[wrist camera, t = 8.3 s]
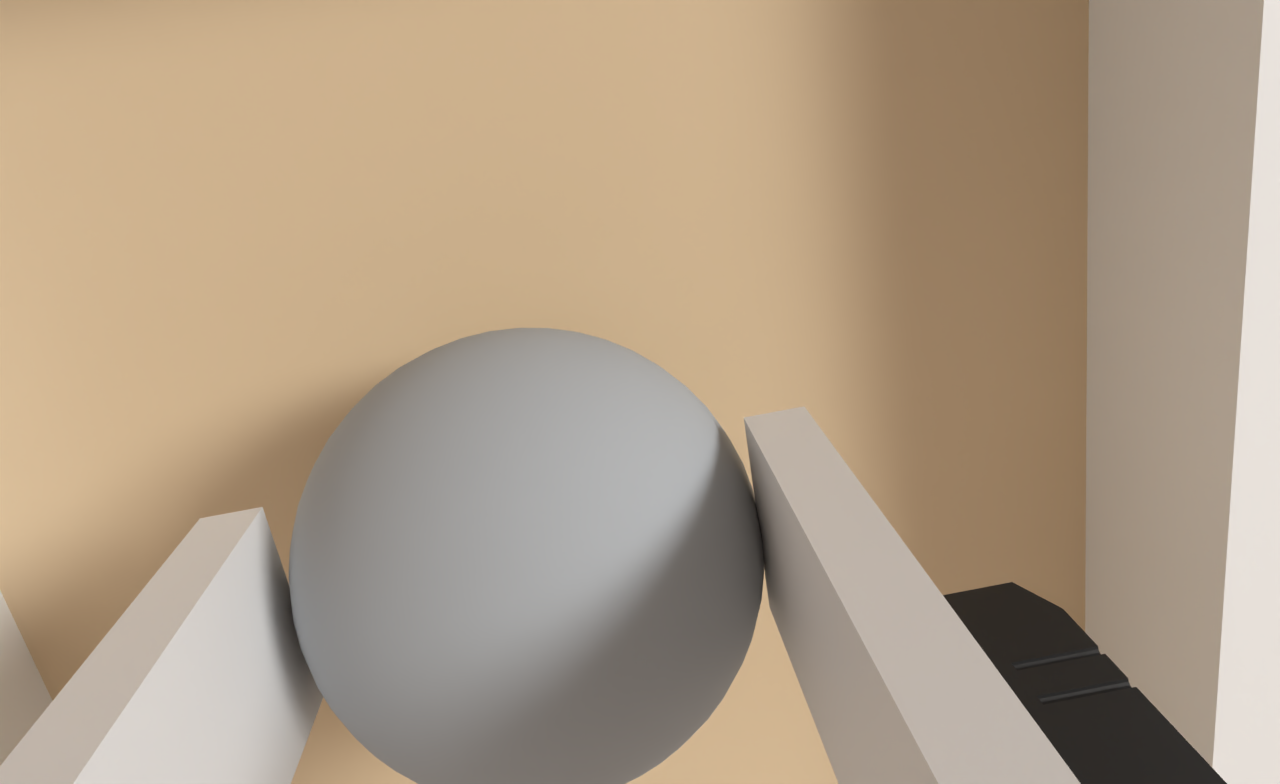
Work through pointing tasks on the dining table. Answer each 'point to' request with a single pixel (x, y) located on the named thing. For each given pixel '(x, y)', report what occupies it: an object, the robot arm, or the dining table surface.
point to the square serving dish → (668, 293)
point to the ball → (526, 563)
